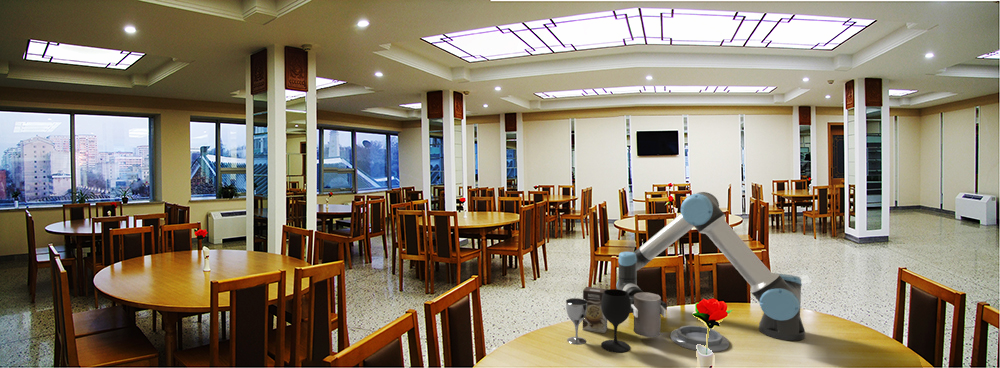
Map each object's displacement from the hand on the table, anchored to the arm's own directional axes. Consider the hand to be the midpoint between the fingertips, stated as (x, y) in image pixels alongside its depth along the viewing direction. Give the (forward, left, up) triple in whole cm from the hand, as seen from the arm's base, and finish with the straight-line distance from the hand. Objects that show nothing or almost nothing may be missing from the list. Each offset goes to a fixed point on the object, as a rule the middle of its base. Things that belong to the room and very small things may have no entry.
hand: (650, 313), depth 163 cm
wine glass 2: (+13, +4, -12) cm, 18 cm away
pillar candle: (+1, -4, -9) cm, 10 cm away
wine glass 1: (+27, +1, -12) cm, 29 cm away
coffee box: (+20, -12, -12) cm, 26 cm away
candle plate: (-18, -7, -12) cm, 23 cm away
